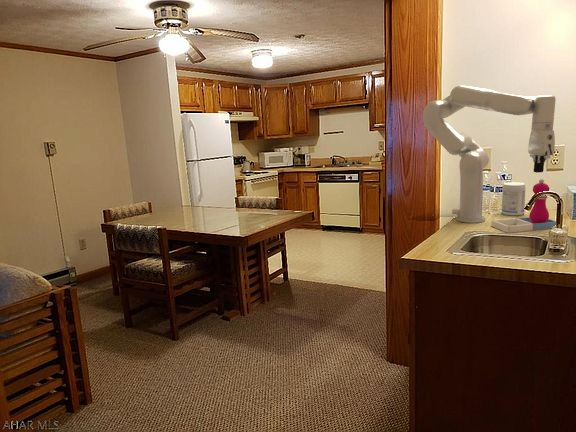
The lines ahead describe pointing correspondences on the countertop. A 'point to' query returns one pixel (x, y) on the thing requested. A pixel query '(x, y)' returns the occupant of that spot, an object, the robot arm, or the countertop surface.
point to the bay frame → (521, 224)
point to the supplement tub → (513, 198)
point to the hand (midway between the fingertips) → (538, 172)
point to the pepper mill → (539, 204)
